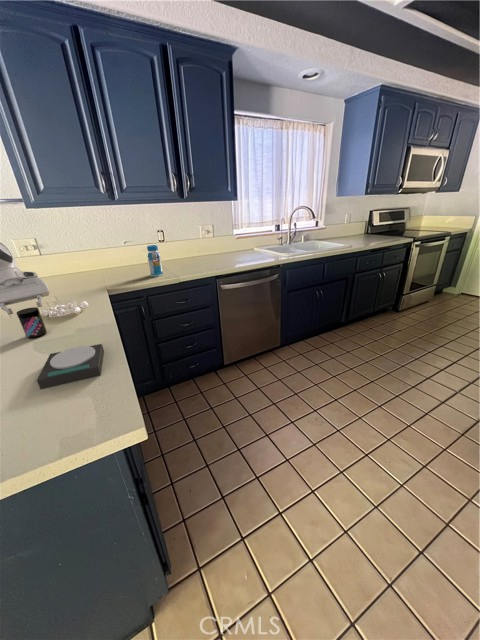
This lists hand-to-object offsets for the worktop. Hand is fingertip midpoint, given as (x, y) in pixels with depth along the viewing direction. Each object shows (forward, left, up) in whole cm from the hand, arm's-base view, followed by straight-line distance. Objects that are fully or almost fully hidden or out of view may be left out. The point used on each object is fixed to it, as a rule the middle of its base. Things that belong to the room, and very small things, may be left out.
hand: (25, 309), depth 102 cm
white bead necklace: (+8, +17, -10) cm, 21 cm away
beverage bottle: (+55, +71, -10) cm, 90 cm away
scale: (+20, -37, -10) cm, 43 cm away
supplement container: (+2, -4, -10) cm, 11 cm away
